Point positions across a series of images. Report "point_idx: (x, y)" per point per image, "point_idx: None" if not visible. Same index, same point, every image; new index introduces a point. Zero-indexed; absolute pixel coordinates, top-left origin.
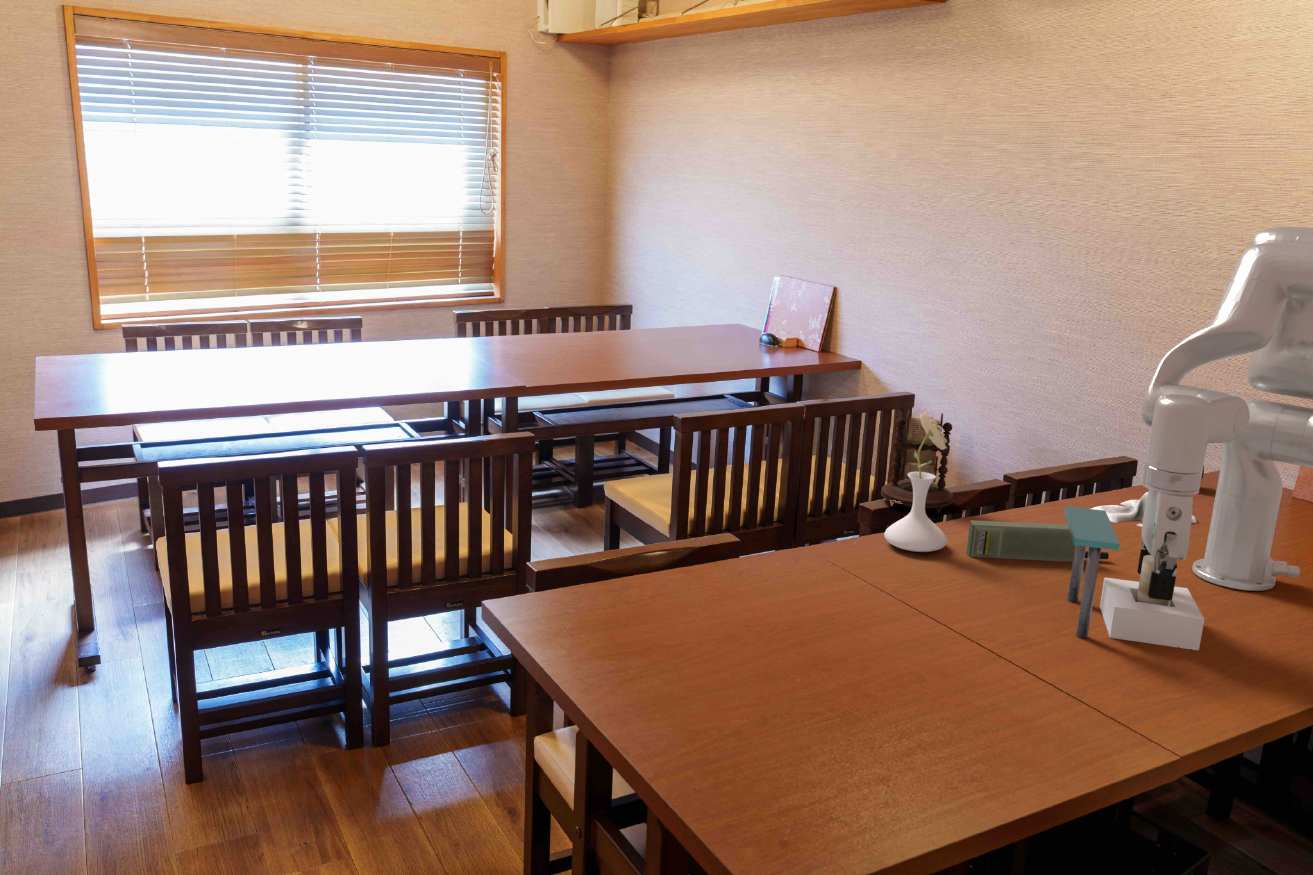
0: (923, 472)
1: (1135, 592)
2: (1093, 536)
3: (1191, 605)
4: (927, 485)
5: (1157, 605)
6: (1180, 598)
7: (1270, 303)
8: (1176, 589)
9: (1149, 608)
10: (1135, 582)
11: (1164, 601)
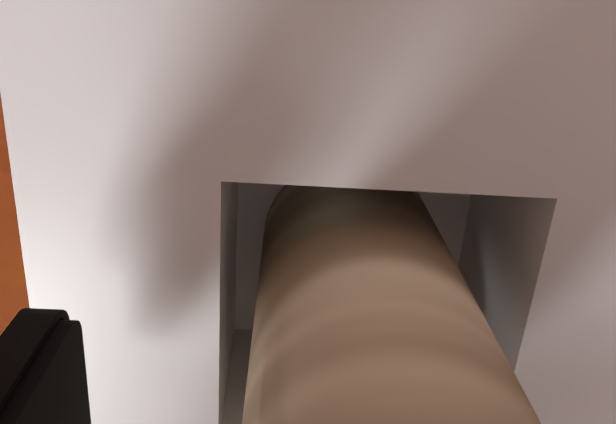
0: None
1: (221, 386)
2: None
3: (493, 37)
4: None
5: (546, 327)
6: (333, 101)
7: None
8: (83, 79)
9: (611, 388)
10: None
11: (448, 259)
